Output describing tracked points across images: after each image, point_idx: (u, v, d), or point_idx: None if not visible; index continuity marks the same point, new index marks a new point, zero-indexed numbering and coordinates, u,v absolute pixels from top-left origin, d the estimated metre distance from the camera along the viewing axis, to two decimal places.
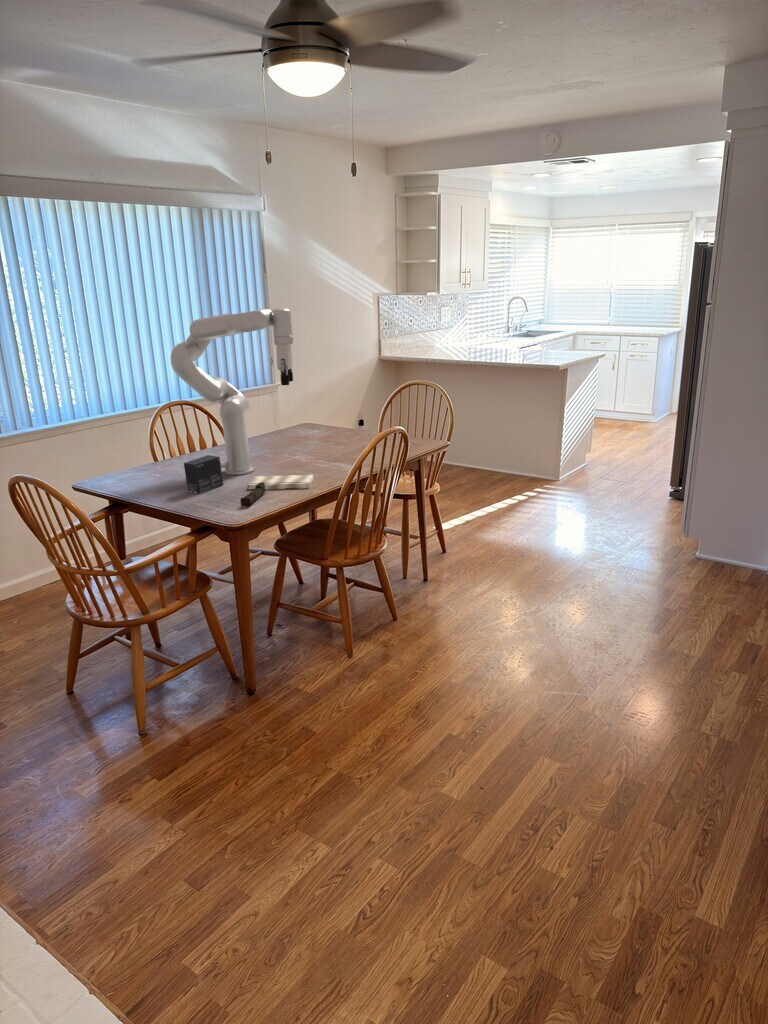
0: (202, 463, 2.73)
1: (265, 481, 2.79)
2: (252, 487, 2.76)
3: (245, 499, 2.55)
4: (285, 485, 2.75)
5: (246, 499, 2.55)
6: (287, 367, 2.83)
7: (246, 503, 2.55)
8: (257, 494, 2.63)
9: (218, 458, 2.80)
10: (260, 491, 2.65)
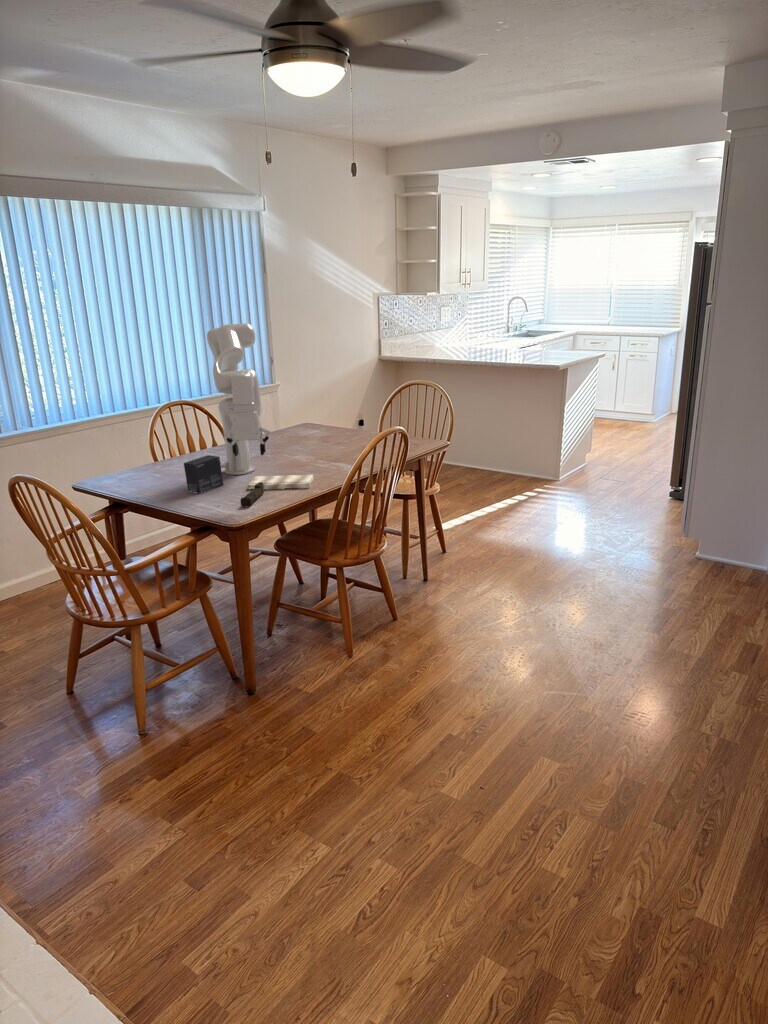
0: (202, 463, 2.73)
1: (265, 481, 2.79)
2: (252, 487, 2.76)
3: (245, 499, 2.55)
4: (285, 485, 2.75)
5: (246, 499, 2.55)
6: (261, 434, 2.58)
7: (246, 503, 2.55)
8: (256, 494, 2.63)
9: (218, 458, 2.80)
10: (259, 491, 2.66)
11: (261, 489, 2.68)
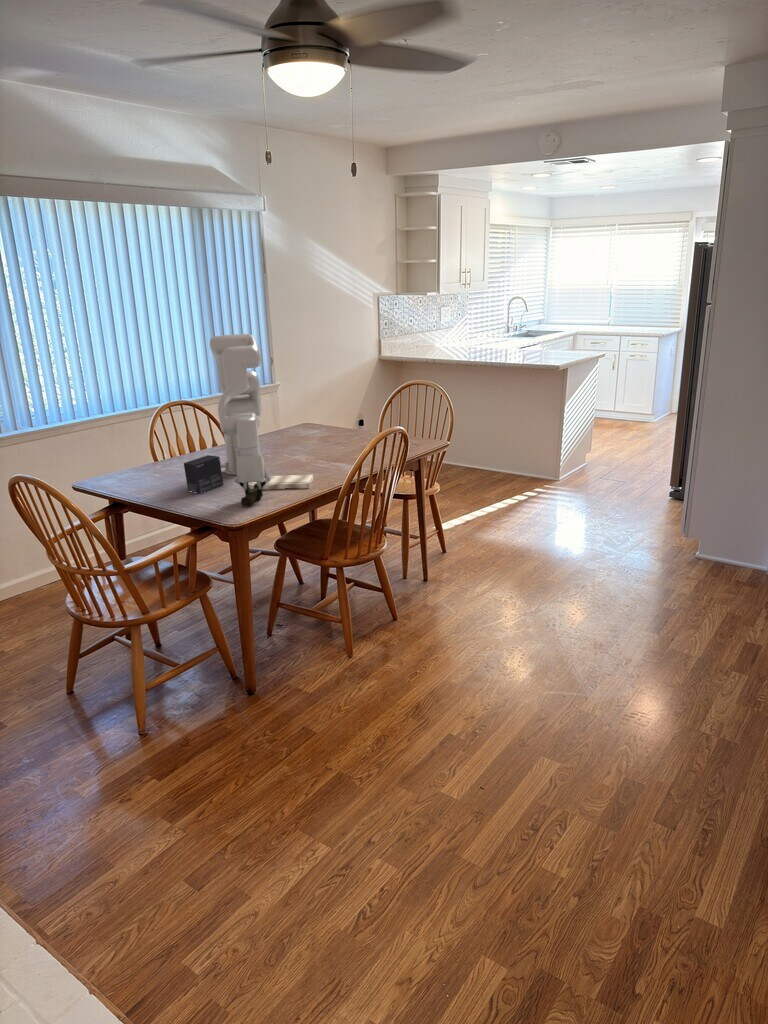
0: (202, 463, 2.73)
1: None
2: (252, 487, 2.76)
3: (246, 499, 2.55)
4: (285, 485, 2.75)
5: (247, 499, 2.55)
6: None
7: (247, 503, 2.55)
8: (256, 493, 2.63)
9: (218, 458, 2.80)
10: None
11: None
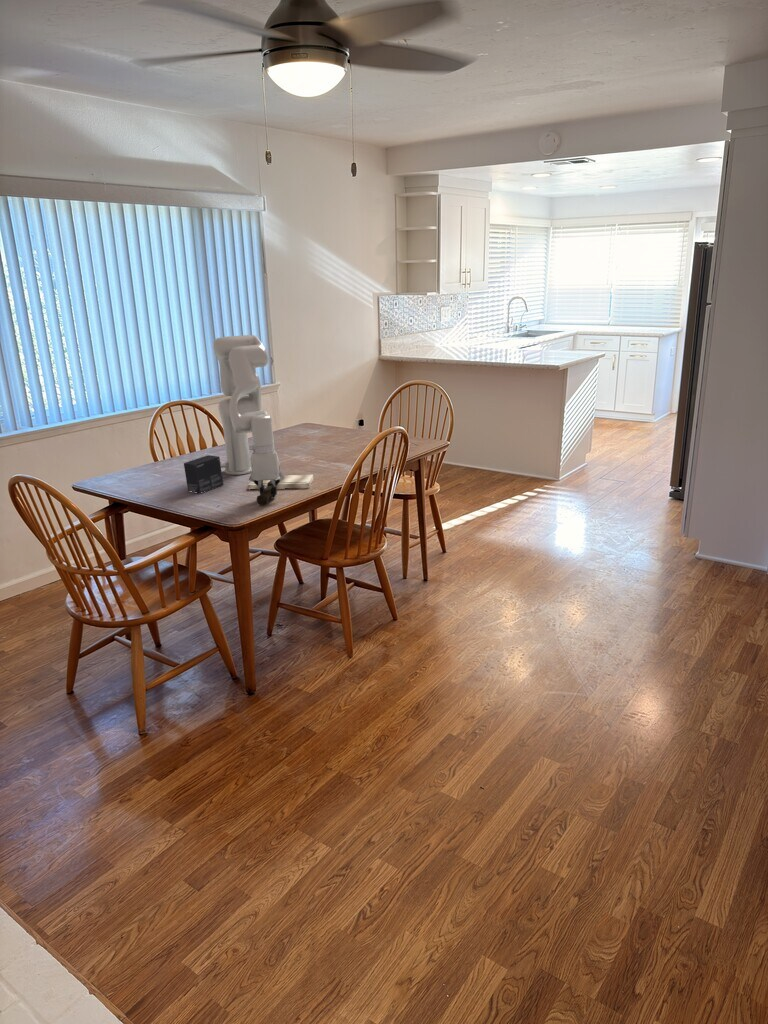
0: (202, 463, 2.73)
1: (265, 481, 2.79)
2: (252, 487, 2.76)
3: (262, 497, 2.54)
4: (285, 485, 2.75)
5: (263, 497, 2.54)
6: None
7: (263, 501, 2.55)
8: (271, 491, 2.62)
9: (218, 458, 2.80)
10: None
11: None
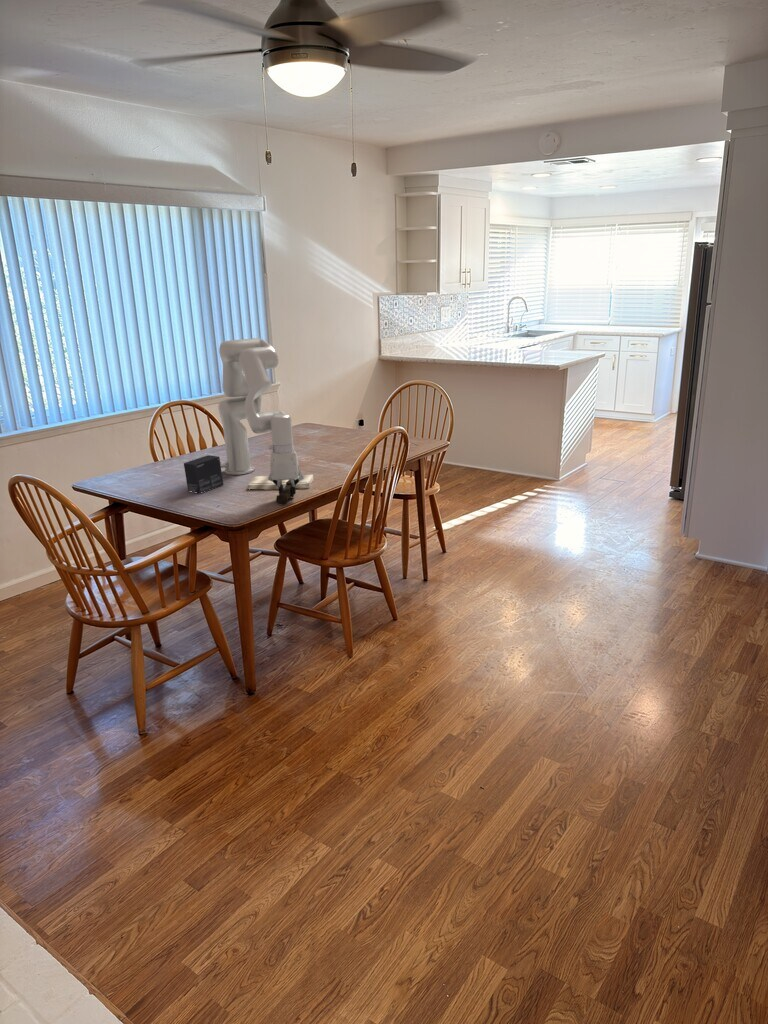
0: (202, 463, 2.73)
1: (265, 481, 2.79)
2: (252, 487, 2.76)
3: (281, 496, 2.54)
4: (285, 485, 2.75)
5: (282, 496, 2.54)
6: None
7: (282, 500, 2.54)
8: (290, 491, 2.62)
9: (218, 458, 2.80)
10: None
11: None
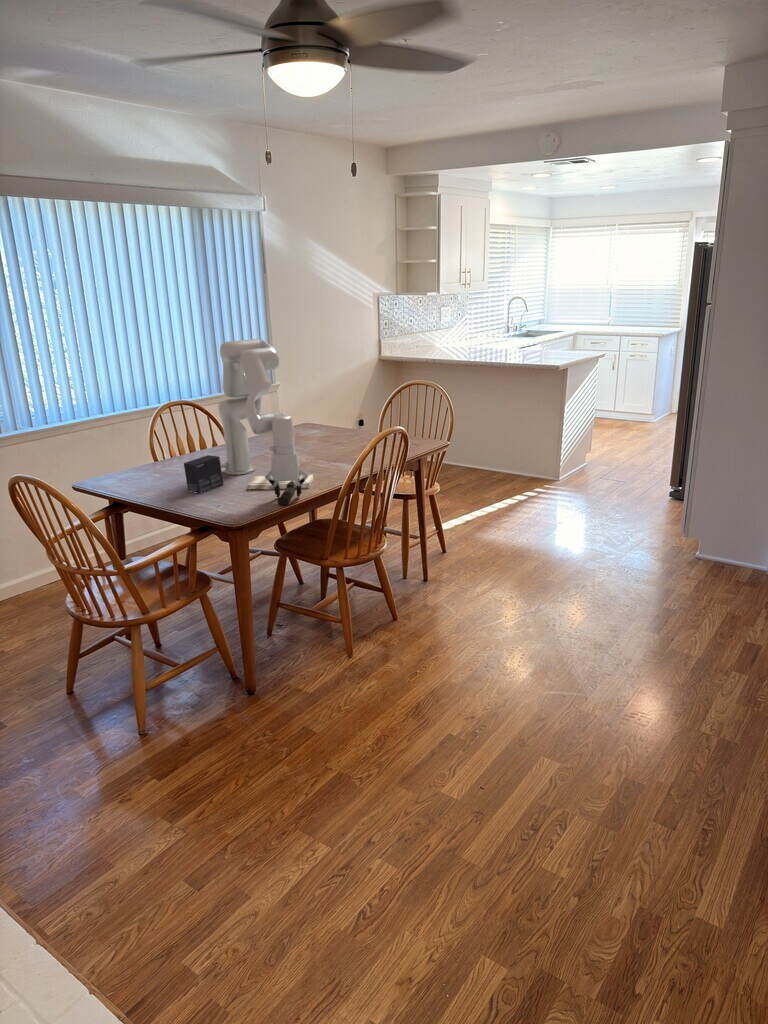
0: (202, 463, 2.73)
1: (265, 481, 2.79)
2: (252, 487, 2.76)
3: (283, 498, 2.54)
4: (285, 485, 2.75)
5: (284, 498, 2.54)
6: None
7: (284, 502, 2.55)
8: (291, 493, 2.62)
9: (218, 458, 2.80)
10: (292, 490, 2.65)
11: (293, 488, 2.67)
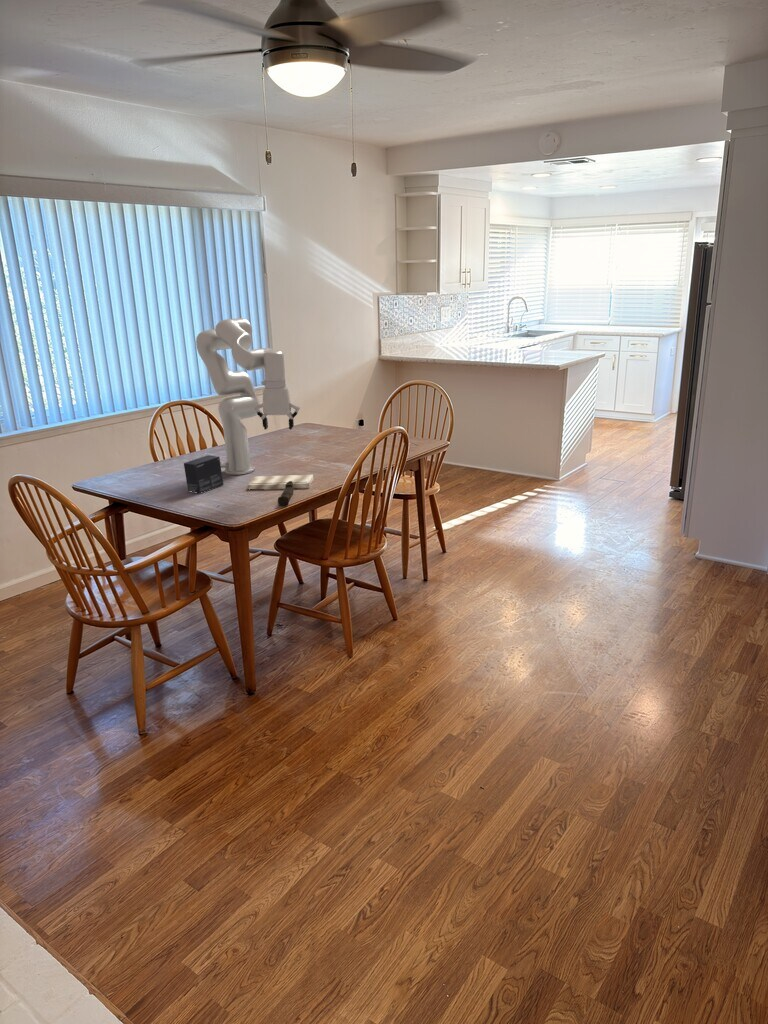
0: (202, 463, 2.73)
1: (265, 481, 2.79)
2: (252, 487, 2.76)
3: (283, 498, 2.54)
4: (285, 485, 2.75)
5: (284, 498, 2.54)
6: (290, 410, 2.71)
7: (284, 502, 2.55)
8: (290, 493, 2.62)
9: (218, 458, 2.80)
10: (291, 490, 2.65)
11: (292, 488, 2.67)
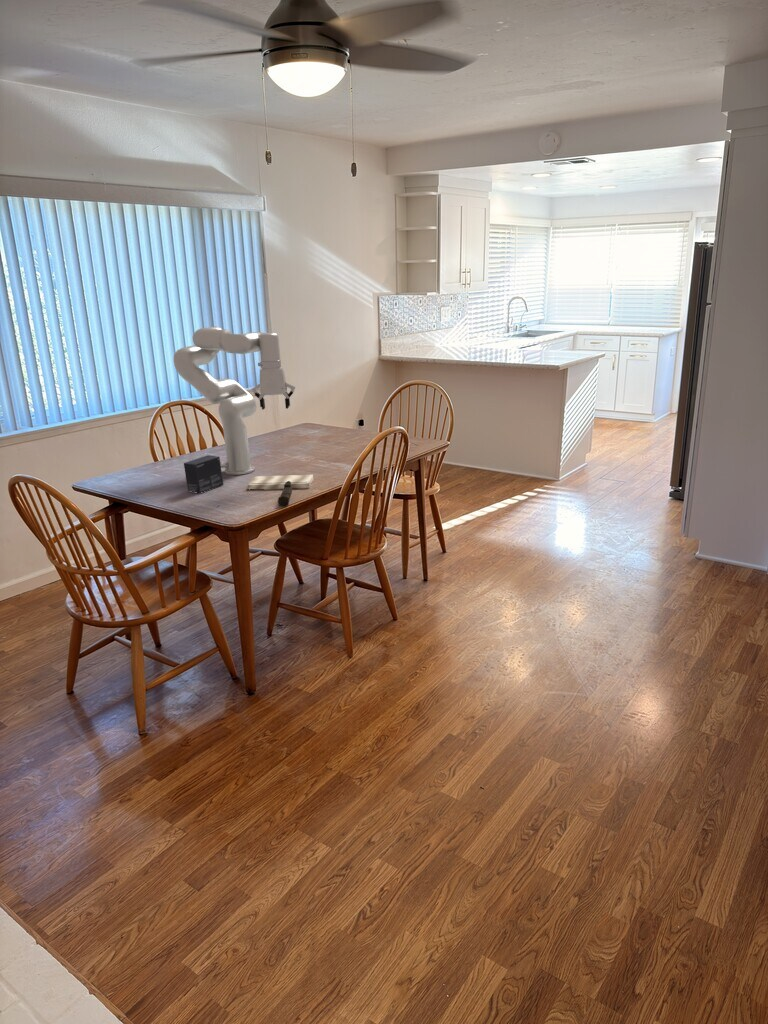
0: (202, 463, 2.73)
1: (265, 481, 2.79)
2: (252, 487, 2.76)
3: (283, 498, 2.54)
4: None
5: (284, 498, 2.54)
6: (286, 390, 2.82)
7: (284, 502, 2.55)
8: (289, 493, 2.62)
9: (218, 458, 2.80)
10: (290, 490, 2.65)
11: (291, 488, 2.67)
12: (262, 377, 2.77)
